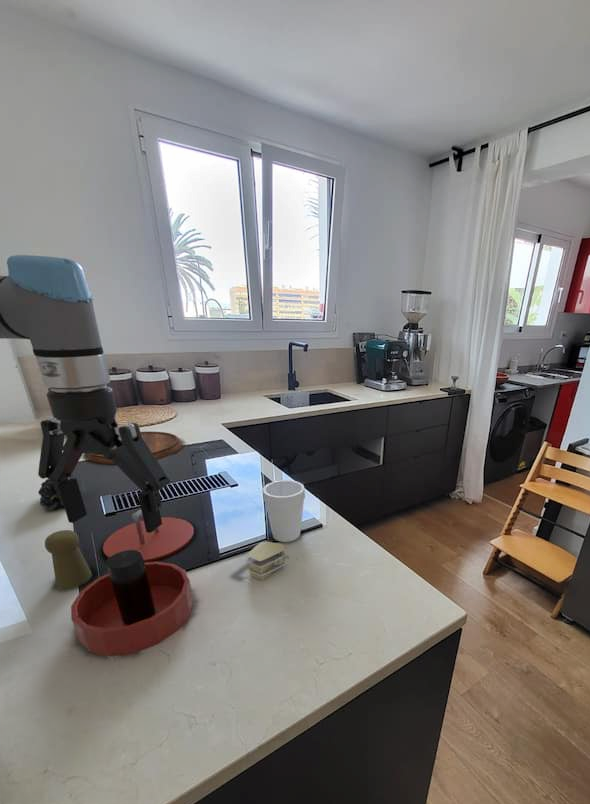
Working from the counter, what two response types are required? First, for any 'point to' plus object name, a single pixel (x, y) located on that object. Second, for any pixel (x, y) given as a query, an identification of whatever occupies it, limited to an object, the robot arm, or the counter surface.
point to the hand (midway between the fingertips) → (115, 523)
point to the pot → (112, 637)
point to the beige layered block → (265, 559)
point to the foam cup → (284, 508)
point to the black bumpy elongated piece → (49, 496)
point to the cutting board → (156, 442)
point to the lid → (150, 538)
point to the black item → (131, 586)
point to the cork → (67, 559)
